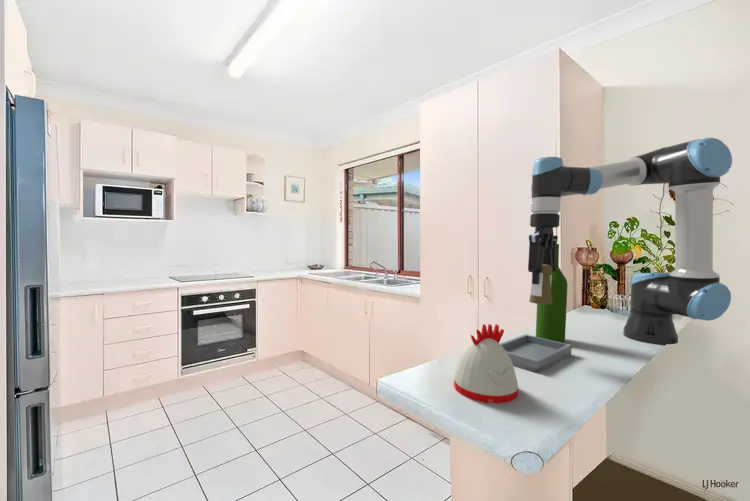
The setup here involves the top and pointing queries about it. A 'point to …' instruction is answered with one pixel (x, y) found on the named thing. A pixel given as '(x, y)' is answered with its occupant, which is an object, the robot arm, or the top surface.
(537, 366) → the slate tray
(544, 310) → the wine bottle
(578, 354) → the top surface
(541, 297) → the cork
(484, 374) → the kitchen timer
